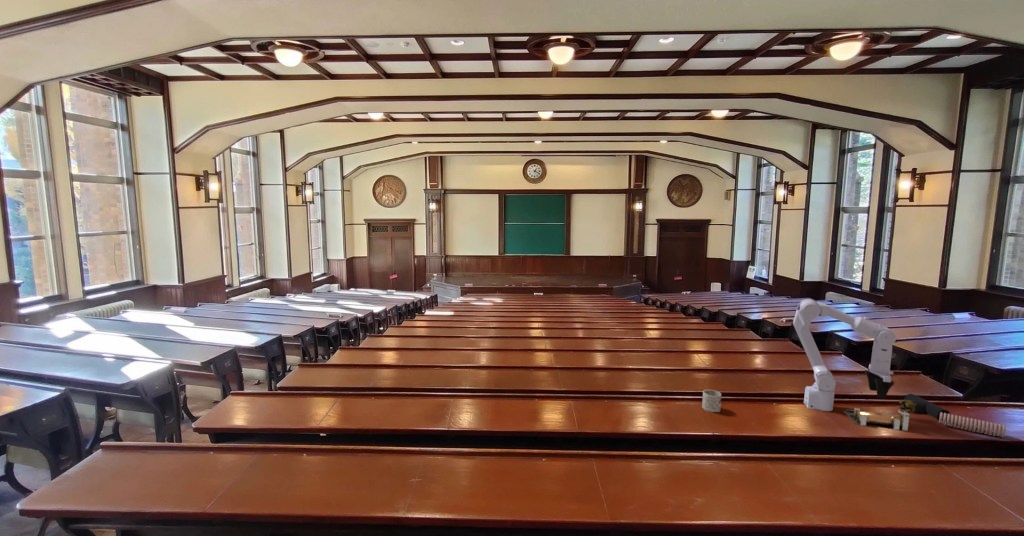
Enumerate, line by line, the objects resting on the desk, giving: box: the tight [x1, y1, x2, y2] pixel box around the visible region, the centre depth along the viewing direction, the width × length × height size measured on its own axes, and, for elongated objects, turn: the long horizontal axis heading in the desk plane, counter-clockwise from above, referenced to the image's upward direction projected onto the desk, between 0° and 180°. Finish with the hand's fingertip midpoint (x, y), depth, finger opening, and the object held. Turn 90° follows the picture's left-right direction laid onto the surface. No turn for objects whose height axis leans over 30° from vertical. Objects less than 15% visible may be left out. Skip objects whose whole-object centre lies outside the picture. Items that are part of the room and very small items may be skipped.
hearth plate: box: [843, 408, 909, 432], centre depth 174 cm, size 16×12×2 cm
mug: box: [701, 389, 722, 413], centre depth 186 cm, size 10×7×7 cm, turn 179°
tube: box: [857, 410, 903, 427], centre depth 170 cm, size 14×4×4 cm, turn 72°
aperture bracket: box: [897, 409, 910, 432], centre depth 167 cm, size 2×4×6 cm, turn 162°
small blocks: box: [853, 407, 900, 431], centre depth 171 cm, size 12×7×4 cm, turn 72°
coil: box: [938, 412, 1007, 439], centre depth 168 cm, size 5×5×18 cm
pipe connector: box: [898, 393, 951, 421], centre depth 182 cm, size 12×5×15 cm
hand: (877, 393), depth 176 cm, fingers open, 7 cm apart
